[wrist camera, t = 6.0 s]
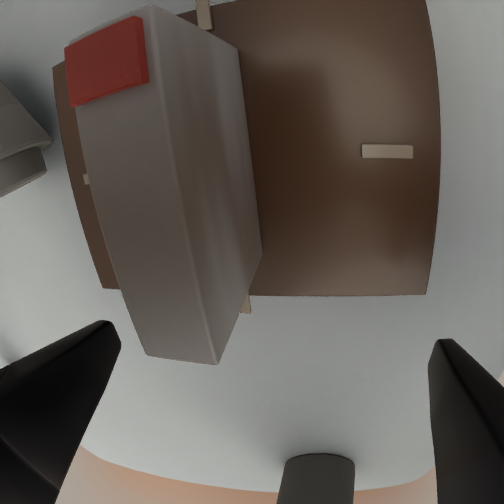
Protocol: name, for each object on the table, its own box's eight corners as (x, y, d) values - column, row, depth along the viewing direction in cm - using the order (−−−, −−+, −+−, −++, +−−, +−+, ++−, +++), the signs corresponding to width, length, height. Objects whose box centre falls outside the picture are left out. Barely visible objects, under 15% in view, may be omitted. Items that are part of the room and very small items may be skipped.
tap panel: (398, 6, 7) (422, -23, 5) (405, 266, 12) (424, 313, 9) (99, 55, 10) (47, 53, 7) (140, 266, 15) (104, 303, 12)
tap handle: (263, 255, 9) (215, 376, 5) (212, 255, 10) (140, 364, 6) (238, 47, 7) (143, -2, 3) (181, 59, 7) (56, 40, 3)
